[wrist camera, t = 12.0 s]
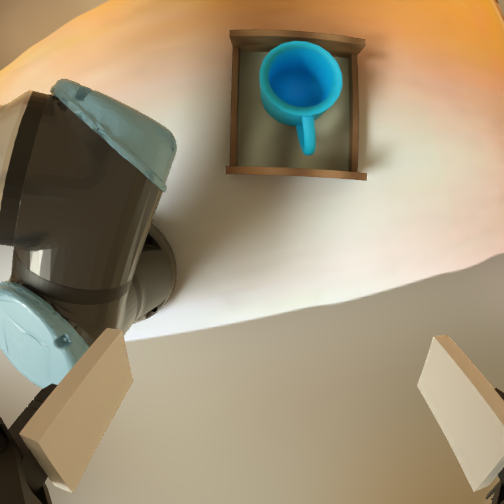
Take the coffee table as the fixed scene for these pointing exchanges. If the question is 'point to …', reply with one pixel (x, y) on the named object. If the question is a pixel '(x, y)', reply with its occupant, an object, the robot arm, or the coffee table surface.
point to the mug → (299, 87)
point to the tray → (284, 136)
